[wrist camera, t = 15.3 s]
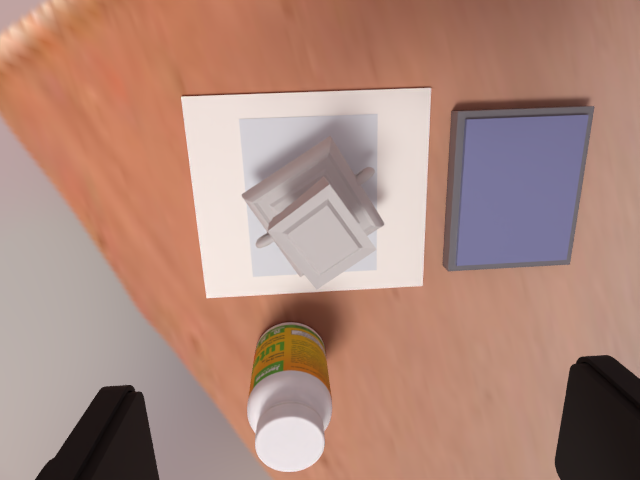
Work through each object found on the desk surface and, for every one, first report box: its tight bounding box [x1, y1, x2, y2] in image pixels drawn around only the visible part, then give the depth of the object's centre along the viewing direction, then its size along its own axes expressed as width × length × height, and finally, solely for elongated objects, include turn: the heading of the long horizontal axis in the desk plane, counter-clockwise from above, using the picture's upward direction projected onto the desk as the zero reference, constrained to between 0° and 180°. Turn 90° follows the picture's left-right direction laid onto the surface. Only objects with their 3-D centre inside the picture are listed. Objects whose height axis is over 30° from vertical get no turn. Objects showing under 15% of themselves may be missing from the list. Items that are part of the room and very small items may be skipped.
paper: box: [181, 88, 431, 298], centre depth 30 cm, size 16×14×1 cm
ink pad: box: [443, 106, 594, 271], centre depth 30 cm, size 9×11×2 cm
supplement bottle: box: [247, 322, 332, 472], centre depth 29 cm, size 5×5×10 cm
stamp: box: [241, 136, 384, 289], centre depth 26 cm, size 9×7×8 cm
